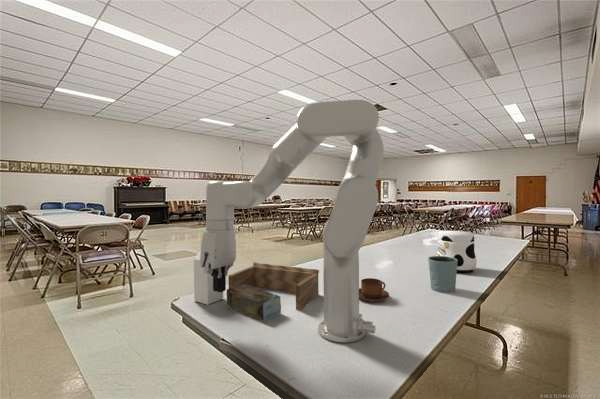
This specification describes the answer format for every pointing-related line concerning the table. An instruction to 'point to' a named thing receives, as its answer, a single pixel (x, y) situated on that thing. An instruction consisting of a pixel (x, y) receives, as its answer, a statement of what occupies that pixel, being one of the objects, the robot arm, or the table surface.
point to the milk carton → (204, 285)
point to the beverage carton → (254, 301)
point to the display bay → (280, 280)
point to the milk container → (458, 248)
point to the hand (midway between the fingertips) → (219, 290)
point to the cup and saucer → (372, 290)
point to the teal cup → (443, 273)
